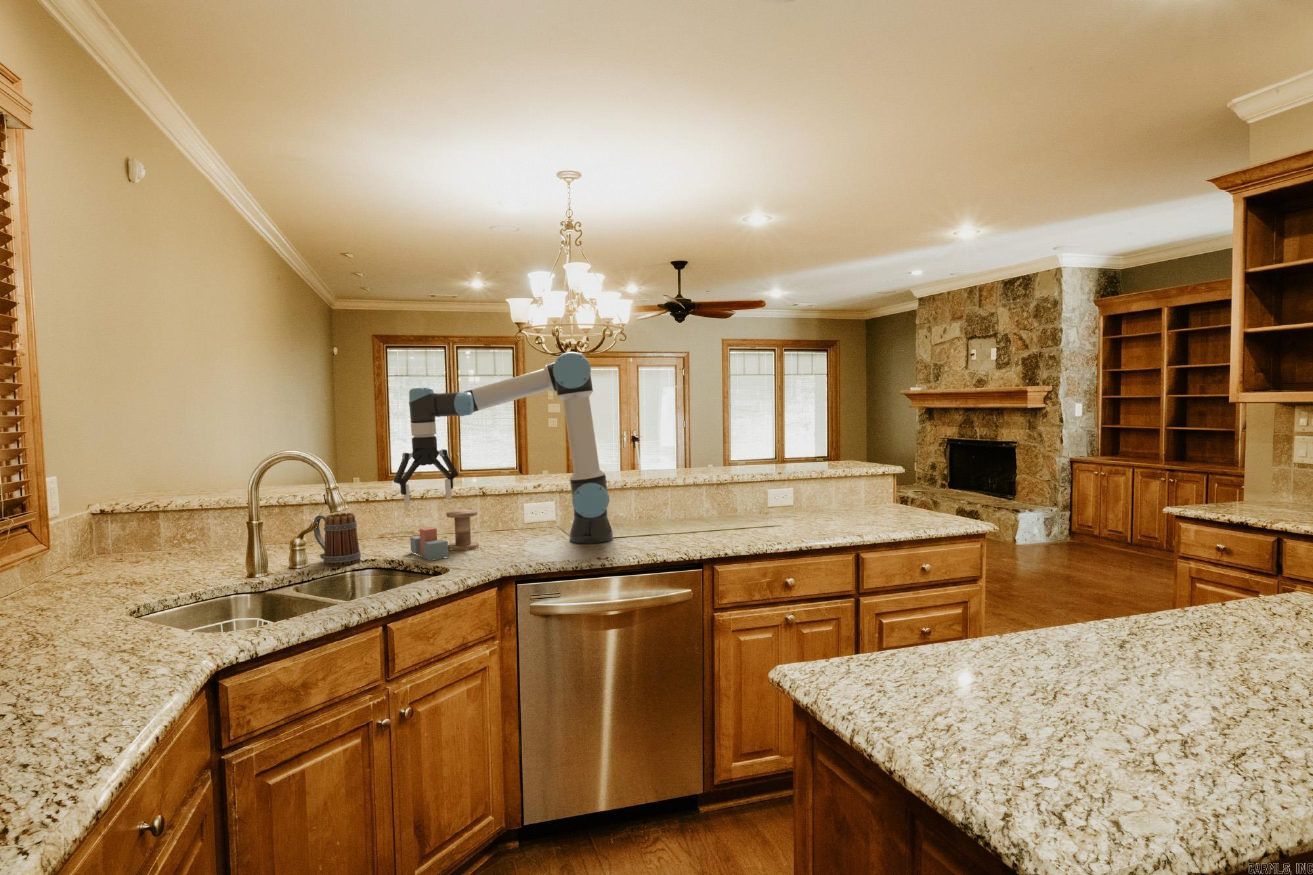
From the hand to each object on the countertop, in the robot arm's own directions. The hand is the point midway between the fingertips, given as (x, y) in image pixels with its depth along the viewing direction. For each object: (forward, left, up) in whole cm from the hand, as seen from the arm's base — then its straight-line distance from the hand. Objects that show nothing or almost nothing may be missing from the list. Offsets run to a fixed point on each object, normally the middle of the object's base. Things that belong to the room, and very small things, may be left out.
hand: (428, 502), depth 218 cm
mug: (+12, +25, -18) cm, 33 cm away
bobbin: (+3, -13, -17) cm, 22 cm away
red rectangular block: (0, 0, -17) cm, 17 cm away
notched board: (0, 0, -17) cm, 17 cm away
